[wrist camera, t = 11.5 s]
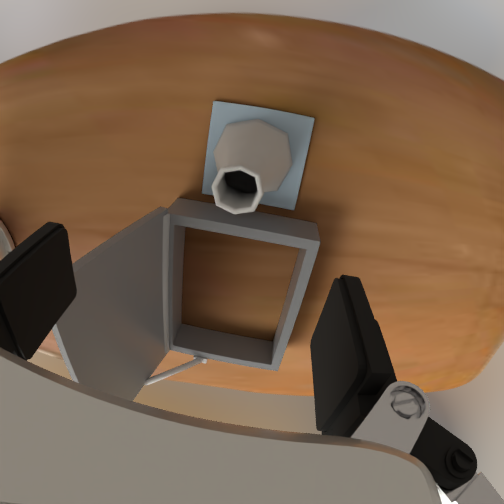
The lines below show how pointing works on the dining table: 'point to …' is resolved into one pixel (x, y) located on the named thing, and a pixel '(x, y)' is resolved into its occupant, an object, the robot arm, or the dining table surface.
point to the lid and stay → (119, 313)
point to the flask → (249, 164)
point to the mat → (285, 121)
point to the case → (242, 226)
